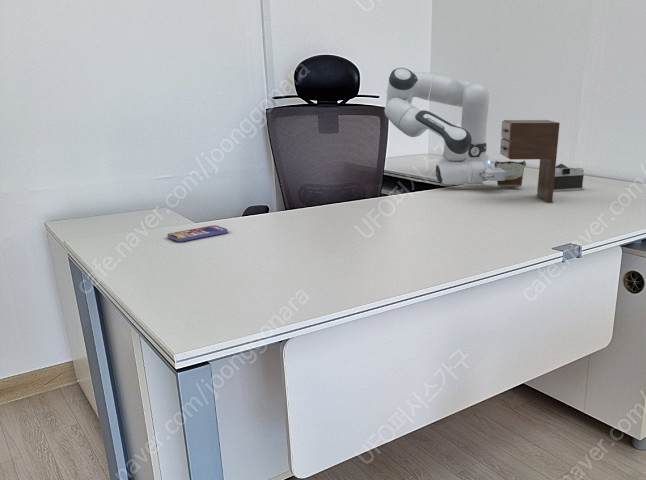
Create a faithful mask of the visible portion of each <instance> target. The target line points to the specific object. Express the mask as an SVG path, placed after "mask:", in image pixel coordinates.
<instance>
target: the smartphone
mask: <svg viewBox="0 0 646 480" xmlns="http://www.w3.org/2000/svg"><path fill="white" fill-rule="evenodd" d="M227 233H228V229H227V228H225V227H222V226H220V225H215V224H214V225H208V226H207V225H206V226H203V227H198V228H191V229H185V230H180V231H175V232H170V233H167V234H166V235H167V238H168V239H171V240H174V241H176V242H186V241H192V240H195V239H196V240H197V239H201V238H206V237H212V236H216V235H221V234H227Z"/></svg>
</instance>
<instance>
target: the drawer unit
mask: <svg viewBox="0 0 646 480" xmlns="http://www.w3.org/2000/svg"><path fill="white" fill-rule="evenodd" d="M560 124H561V123H560V122H558V121H554V120H549V119H503V120H502V121H501V131H500V133H501V134H500V149H499V154H500V155H502V156H503V157H505V158H507V159H508V160H539V167H538V179H537V192H536V195H537V196H538V198H541V199H542V200H543V201H545V202H546V203H548V204H552V203H553V198H554V191H553V189H554V178H555V168H556V166H557V157H558V156H557V155H558V147H559V146H558V145H559V135H560V134H559V133H560Z"/></svg>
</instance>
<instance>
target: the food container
mask: <svg viewBox="0 0 646 480" xmlns="http://www.w3.org/2000/svg"><path fill="white" fill-rule="evenodd" d="M494 164H495V165H494V166H496V167H499V168H502V169H503V170H505V171H507V170H513V171H514V175H509V176H506V180H504V181H496V182H497V183H496V184H497V187H499V188H506V189H507V188H508V189H509V188H510V189H513V188H514V189H515V188H521V187H522V186H523V179H524V171H525V167H526V166H527V162H526V159H523V160H522V161H512V160H511V161H510V160H509V161H498V160H495V161H494Z"/></svg>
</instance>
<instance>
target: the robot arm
mask: <svg viewBox="0 0 646 480" xmlns="http://www.w3.org/2000/svg"><path fill="white" fill-rule="evenodd" d="M413 98H418V99H420V100H424V101H428V102H433V103H438V104H443V105H446V106H447V105H448V106H453V107H459V108H462V109H461V120H460V121H461V123H460V126H458V125H455V124H453V123H451V122H449V121H447V120H445V119H444V118H442V117H441V116H438V115H437V114H435V113H433V112H431V111H429V110H426V109H425V110H424V109H423V110H420V109H419V108H417V107H416V106H415V105H413V104H412V102H413ZM489 104H490V92H489V90H488V88H487V87H486V86H485V85H484V84H482V83H478V82H473V81H470V80H469V81H468V80H465V79H459V78H455V77H450V76H446V75H441V74H436V73H432V72H424V71H412V70H409V68H405V67H398V68H395V69H393V70H392V71H391V73H390V75H389V77H388V83H387V87H386V102H385V106H384V115H385V117H386V118H387V119H388V121H390V122H391V124H392V125H393V126H394V127H395V128H397V130H399V131H400V132H402V134H404V135H406V136H408V137H410V138H417V137H419V136H421V135H422V134H424V133H425V132H426V131H427V130H429V131H431V132H432V133H434V134H436V135H438V136H439V137H441V138H442V140H443V142H444V145H443V153H442V155H441V158H440V160H439V161H438V163H437V164H436V166H435V176H436V179H437V181H438V183H439V184H442V185H448V186H460V185H462V184H466V185H483V183H484V182H486V181H490V182H497V181H504V180H506V176H509V175H514V171H513V170H507V171H505V170H503V169H502V168H499V167H496V166H494V165H495V163H491V161H490V156H489V154H488V153H487V148H488V146H487V125H488V115H489Z"/></svg>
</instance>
